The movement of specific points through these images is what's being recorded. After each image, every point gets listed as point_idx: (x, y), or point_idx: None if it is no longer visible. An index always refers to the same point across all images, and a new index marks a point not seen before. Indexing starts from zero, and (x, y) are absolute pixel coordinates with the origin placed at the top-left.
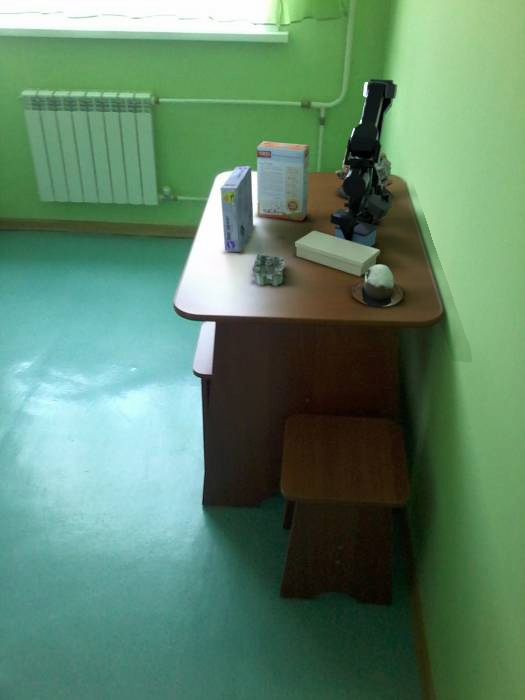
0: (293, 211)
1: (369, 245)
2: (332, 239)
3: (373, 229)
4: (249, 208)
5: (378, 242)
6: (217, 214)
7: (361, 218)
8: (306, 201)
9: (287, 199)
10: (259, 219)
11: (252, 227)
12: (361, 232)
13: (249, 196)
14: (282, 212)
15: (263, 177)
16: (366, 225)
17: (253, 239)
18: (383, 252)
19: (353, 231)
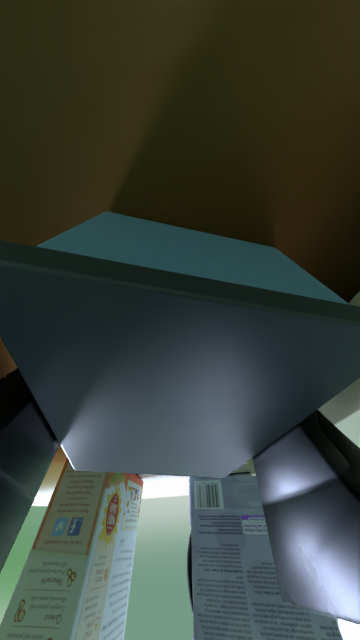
0: (116, 491)
1: (197, 234)
2: (353, 438)
3: (154, 285)
4: (234, 556)
5: (62, 186)
6: (170, 494)
7: (25, 466)
8: (58, 512)
9: (113, 540)
10: (154, 477)
11: (196, 477)
12: (326, 384)
13: (233, 605)
14: (127, 488)
15: (120, 629)
16: (94, 389)
17: (245, 468)
18: (251, 21)
19: (309, 429)
